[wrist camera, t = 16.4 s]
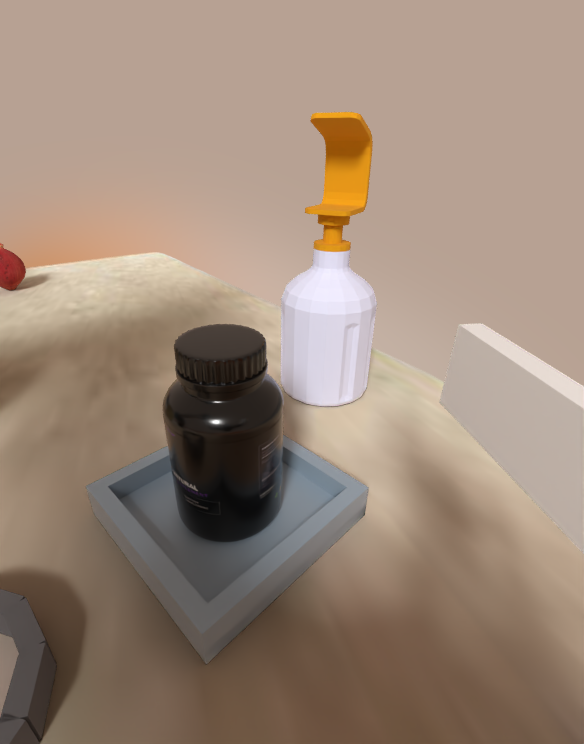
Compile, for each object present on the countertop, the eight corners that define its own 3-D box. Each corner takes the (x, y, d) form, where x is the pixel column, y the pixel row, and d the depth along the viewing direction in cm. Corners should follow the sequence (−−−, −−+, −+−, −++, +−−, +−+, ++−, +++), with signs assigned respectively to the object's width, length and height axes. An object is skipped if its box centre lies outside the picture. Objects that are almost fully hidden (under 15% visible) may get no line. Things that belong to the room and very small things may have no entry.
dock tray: (93, 513, 27) (85, 486, 26) (243, 432, 36) (241, 408, 34) (206, 664, 19) (201, 634, 18) (364, 514, 28) (368, 487, 26)
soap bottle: (265, 395, 41) (261, 110, 30) (302, 360, 48) (311, 120, 37) (349, 418, 38) (381, 106, 26) (375, 377, 45) (409, 118, 34)
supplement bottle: (158, 536, 25) (123, 359, 19) (203, 462, 30) (186, 311, 25) (267, 558, 23) (264, 376, 18) (292, 477, 29) (296, 322, 24)
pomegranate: (17, 295, 68) (2, 247, 64) (-17, 294, 68) (-34, 246, 65) (37, 286, 73) (24, 240, 70) (6, 285, 74) (-9, 239, 70)
